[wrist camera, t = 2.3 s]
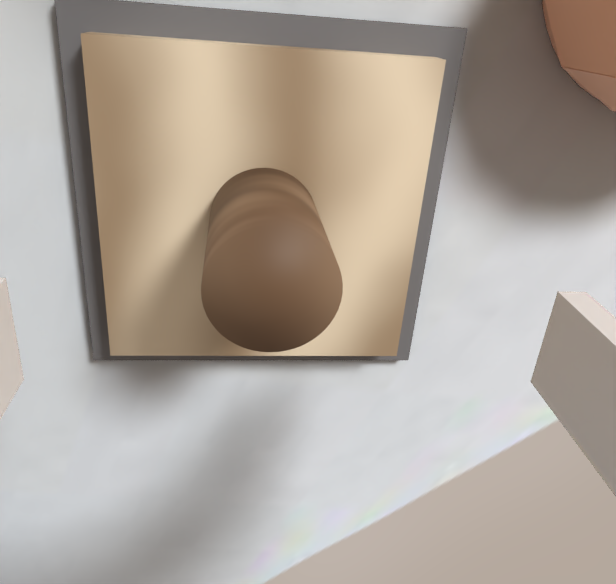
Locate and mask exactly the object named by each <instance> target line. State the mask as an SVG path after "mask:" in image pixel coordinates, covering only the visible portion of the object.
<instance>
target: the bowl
mask: <svg viewBox="0 0 616 584" xmlns="http://www.w3.org/2000/svg"><path fill="white" fill-rule="evenodd" d="M542 6H543V12H544V18H545V23H546V28H547V31H548V34H549V37H550V41H551V44H552V46H553V48H554V50H555V53H556V55H557V57H558V59H559V61H560V65H561V66H562V68H563V69H564V70H566V71H567V73H568V74H569V75H570V77H571V78H572V79H573V80H574V81H575V82H576V83H577V84H578V85H579V86H580V87H581V88H582V89H584V90H585V91H586V92H588V93H589V94H590V95H592V96H593V97H595V98H597V99H598V100H600V101H601V102H602V103H603V104H604V105H605V106H607V107H608V108H609V109H610V110H611V111H614V112H616V0H542Z"/></svg>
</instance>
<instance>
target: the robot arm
mask: <svg viewBox="0 0 616 584" xmlns="http://www.w3.org/2000/svg"><path fill="white" fill-rule="evenodd" d="M23 380H24V377H23V371H22V366H21V360H20V354H19V349H18V343H17V338H16V332H15V326H14V321H13V315H12V310H11V304H10V298H9V293H8V287H7V282H6V278H0V419H1V418H2V416H3V414H4V413H5V411H6V409H7V407H8V406H9V404H10V402H11V401H12V399H13V397H14V395H15V394H16V392H17V390H18V389H19V387H20V385H21V383H22V382H23ZM531 383H532V384H533V386H534V387H535V388H536V390H537V391H538V392H539V394H540V395H541V396H542V398H543V399H544V400H545V402H546V403H547V405H548V406H549V407H550V409H551V410H552V411H553V413H554V414H555V415H556V417H557V418H558V419H559V421H560V422H561V423H562V425H563V426H564V427H565V429H566V430H567V431H568V433H569V434H570V436H571V437H572V438H573V440H574V441H575V442H576V444H577V445H578V446H579V447H580V449H581V450H582V452H583V453H584V454H585V456H586V457H587V458H588V460H589V461H590V462H591V464H592V465H593V466H594V468H595V469H596V471H597V472H598V473H599V475H600V476H601V477H602V479H603V480H604V481H605V483H606V484H607V485H608V487H609V488H610V489H611V491H612V492H613V494H614V495H615V496H616V317H615V316H613V315H612V314H611V313H610V312H609V311H608V310H606V309H605V308H604V307H603V306H602V305H601V304H599V303H598V302H597V301H596V300H595V299H594V298H593V297H591V296H590V295H589V294H588V293H587V292H559V291H558V292H557V296H556V299H555V302H554V306H553V309H552V312H551V316H550V319H549V322H548V326H547V329H546V332H545V336H544V339H543V342H542V346H541V349H540V352H539V356H538V359H537V362H536V366H535V369H534V372H533V376H532V379H531Z"/></svg>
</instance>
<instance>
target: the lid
mask: <svg viewBox="0 0 616 584" xmlns="http://www.w3.org/2000/svg"><path fill="white" fill-rule="evenodd" d="M81 44H82V55H83V65H84V76H85V87H86V98H87V108H88V119H89V130H90V141H91V151H92V162H93V173H94V184H95V195H96V205H97V216H98V227H99V238H100V248H101V259H102V270H103V281H104V291H105V302H106V313H107V324H108V334H109V345H110V356H397V351H398V345H399V339H400V333H401V327H402V321H403V315H404V309H405V303H406V297H407V291H408V285H409V279H410V273H411V267H412V261H413V255H414V249H415V243H416V237H417V231H418V225H419V219H420V213H421V207H422V201H423V195H424V189H425V183H426V177H427V171H428V165H429V159H430V153H431V147H432V141H433V135H434V129H435V123H436V117H437V111H438V106H439V100H440V94H441V88H442V82H443V76H444V70H445V64H446V60H444V59H441V58H437V57H429V56H415V55H401V54H388V53H374V52H360V51H346V50H333V49H319V48H305V47H291V46H277V45H264V44H250V43H236V42H222V41H209V40H195V39H181V38H167V37H154V36H140V35H126V34H112V33H98V32H86V33H81Z"/></svg>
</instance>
